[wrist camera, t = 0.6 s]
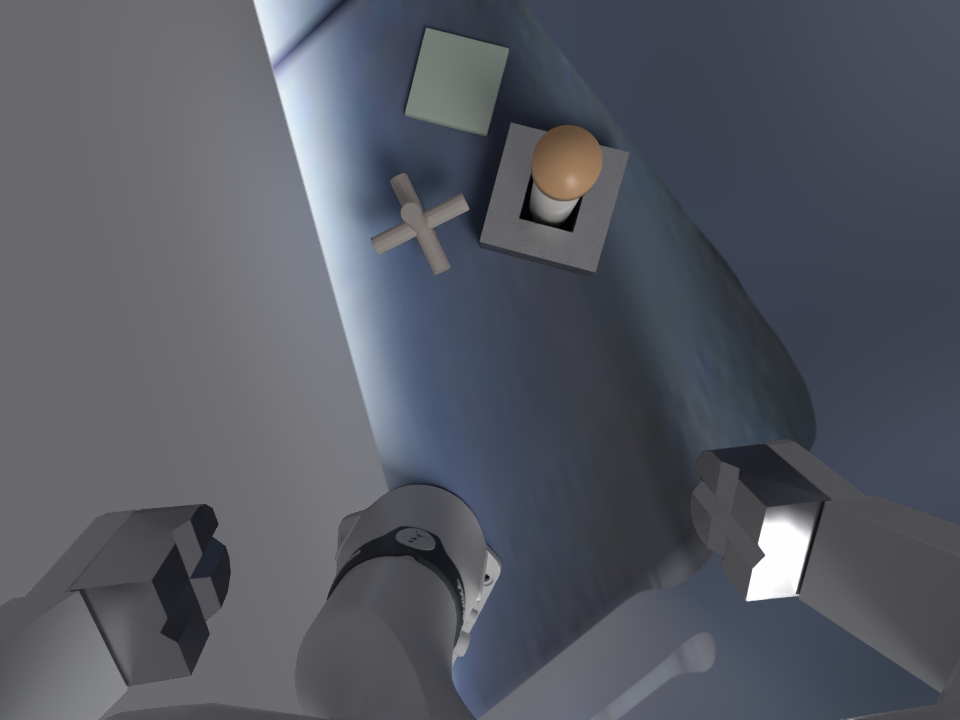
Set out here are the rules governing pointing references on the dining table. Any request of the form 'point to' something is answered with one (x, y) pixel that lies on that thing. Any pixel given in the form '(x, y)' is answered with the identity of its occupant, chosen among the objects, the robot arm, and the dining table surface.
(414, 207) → the pipe connector
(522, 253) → the housing block
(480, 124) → the rubber mat
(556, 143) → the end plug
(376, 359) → the dining table surface
